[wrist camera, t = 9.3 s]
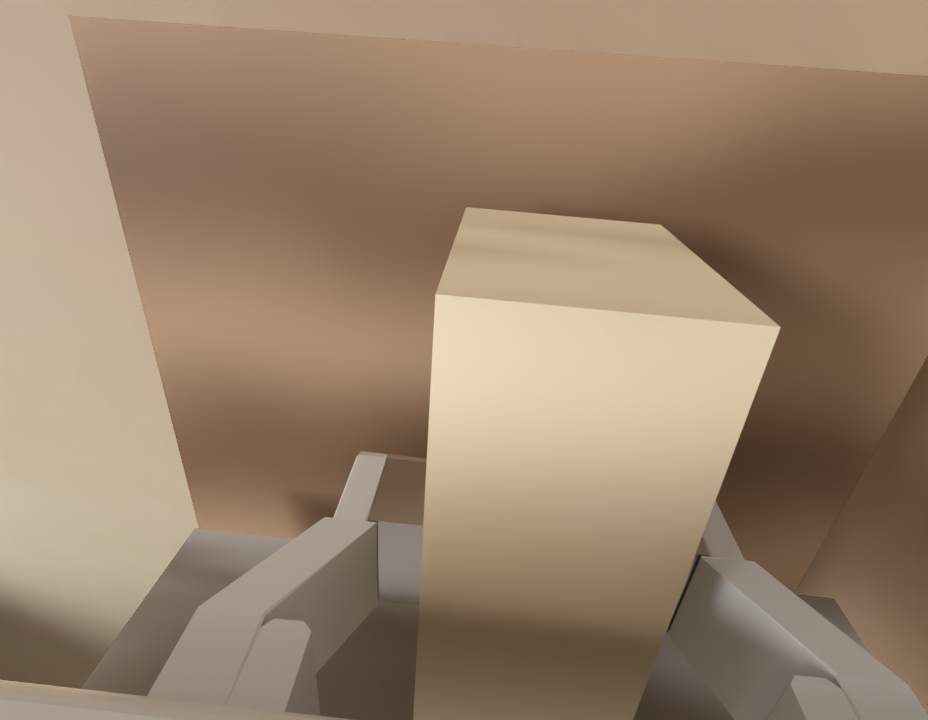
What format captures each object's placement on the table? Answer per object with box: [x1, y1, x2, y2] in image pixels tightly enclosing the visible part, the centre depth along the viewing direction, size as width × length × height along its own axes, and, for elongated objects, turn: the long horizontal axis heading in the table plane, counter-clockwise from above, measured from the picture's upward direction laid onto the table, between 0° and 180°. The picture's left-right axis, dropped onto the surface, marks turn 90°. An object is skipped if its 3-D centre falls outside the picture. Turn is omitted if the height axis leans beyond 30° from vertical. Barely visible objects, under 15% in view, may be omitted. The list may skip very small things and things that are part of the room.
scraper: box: [80, 207, 869, 720], centre depth 8 cm, size 9×14×4 cm, turn 86°
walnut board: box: [69, 16, 928, 594], centre depth 15 cm, size 18×16×5 cm
